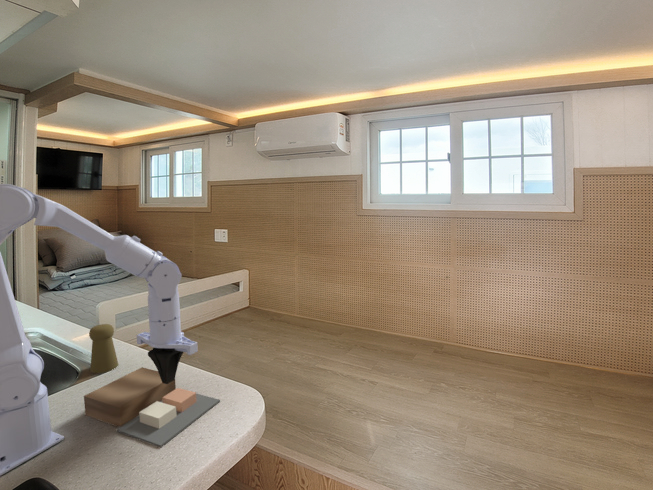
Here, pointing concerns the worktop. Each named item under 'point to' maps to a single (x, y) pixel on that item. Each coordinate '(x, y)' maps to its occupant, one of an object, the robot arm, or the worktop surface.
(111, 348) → the olive tall rounded piece
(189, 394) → the terracotta tile
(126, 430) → the rubber mat
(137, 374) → the walnut board
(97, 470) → the worktop surface
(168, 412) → the cream tile
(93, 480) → the worktop surface
